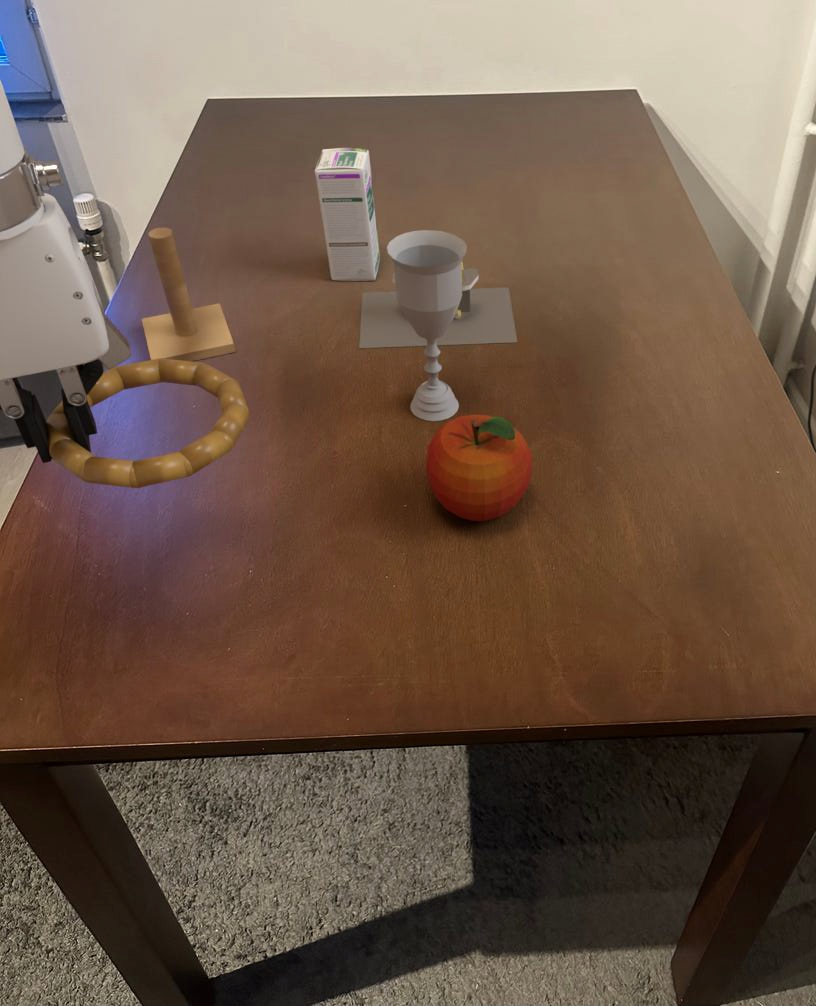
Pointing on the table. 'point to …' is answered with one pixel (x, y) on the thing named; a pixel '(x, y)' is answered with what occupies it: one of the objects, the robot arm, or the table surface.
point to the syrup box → (348, 213)
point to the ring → (163, 465)
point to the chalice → (429, 305)
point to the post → (182, 313)
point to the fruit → (478, 466)
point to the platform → (474, 323)
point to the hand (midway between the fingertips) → (65, 444)
